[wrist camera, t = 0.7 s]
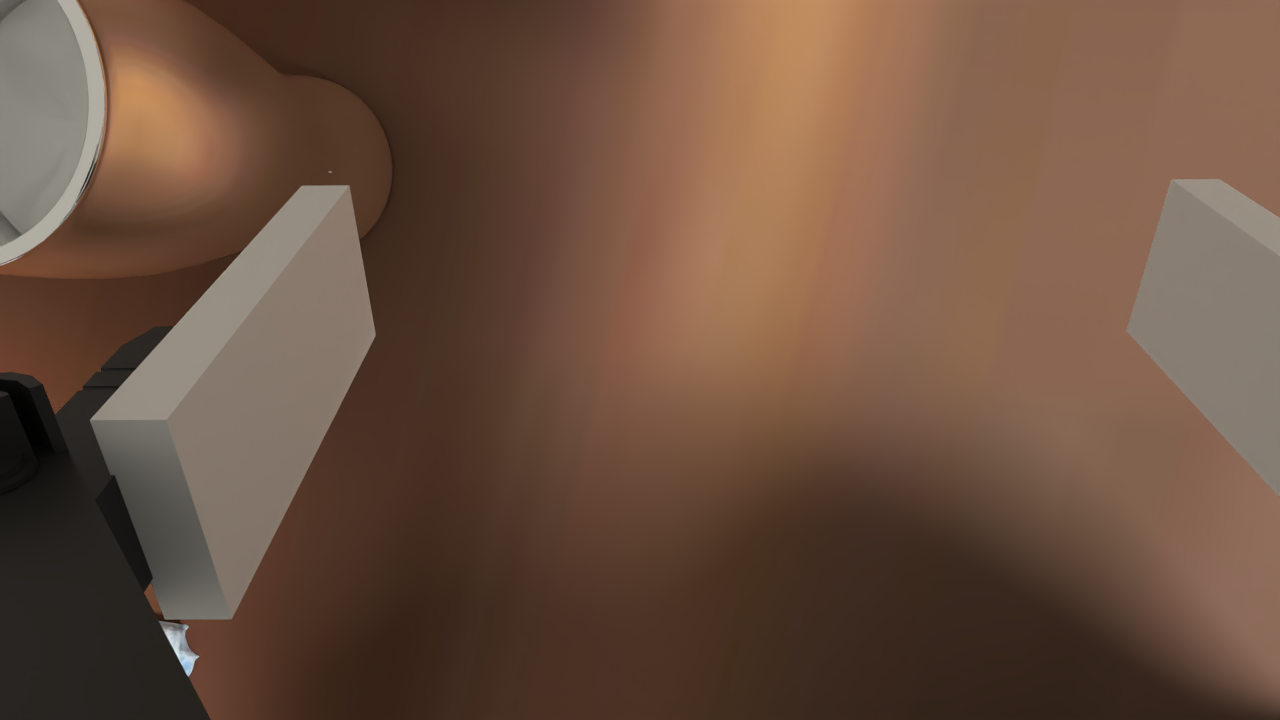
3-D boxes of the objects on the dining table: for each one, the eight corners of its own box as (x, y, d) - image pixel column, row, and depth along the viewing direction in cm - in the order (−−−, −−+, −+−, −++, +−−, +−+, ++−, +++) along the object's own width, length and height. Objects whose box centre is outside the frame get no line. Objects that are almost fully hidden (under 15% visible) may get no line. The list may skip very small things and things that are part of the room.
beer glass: (211, 263, 33) (-228, 271, 18) (213, 59, 32) (-244, -111, 17) (403, 277, 32) (114, 297, 17) (410, 69, 31) (113, -99, 16)
